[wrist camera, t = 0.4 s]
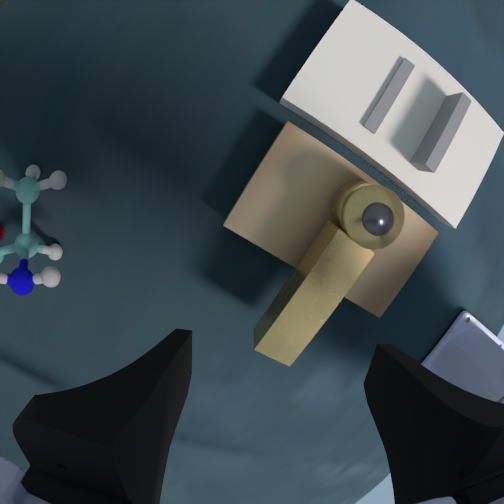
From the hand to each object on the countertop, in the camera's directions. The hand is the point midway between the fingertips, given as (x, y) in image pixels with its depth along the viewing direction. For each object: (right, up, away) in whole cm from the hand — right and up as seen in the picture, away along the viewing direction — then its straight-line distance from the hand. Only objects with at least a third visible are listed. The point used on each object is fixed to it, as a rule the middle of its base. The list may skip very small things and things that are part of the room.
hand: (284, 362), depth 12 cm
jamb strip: (+4, +6, +9) cm, 11 cm away
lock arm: (+3, +3, +7) cm, 9 cm away
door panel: (+9, +13, +7) cm, 17 cm away
